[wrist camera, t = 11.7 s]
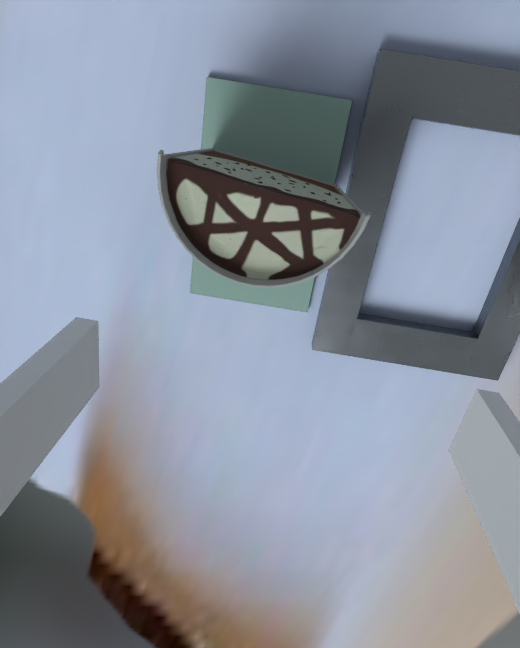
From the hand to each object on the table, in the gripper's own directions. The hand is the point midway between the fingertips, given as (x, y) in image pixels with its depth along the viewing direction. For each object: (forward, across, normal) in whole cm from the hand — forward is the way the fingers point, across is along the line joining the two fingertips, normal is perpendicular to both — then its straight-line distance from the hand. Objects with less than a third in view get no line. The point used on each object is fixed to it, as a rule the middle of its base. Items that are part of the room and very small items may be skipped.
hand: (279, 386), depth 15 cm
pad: (+21, +3, -2) cm, 21 cm away
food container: (+21, +3, -2) cm, 21 cm away
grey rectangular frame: (+21, -11, -2) cm, 24 cm away
